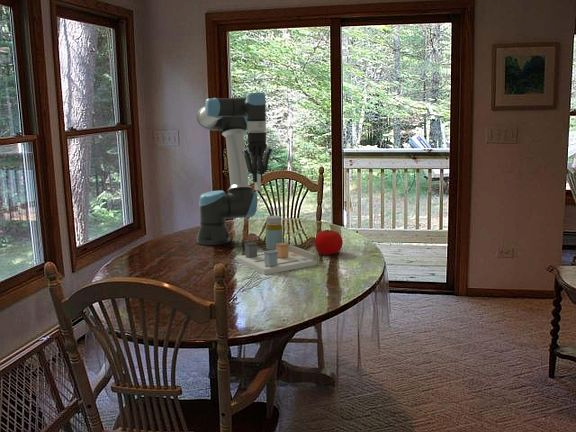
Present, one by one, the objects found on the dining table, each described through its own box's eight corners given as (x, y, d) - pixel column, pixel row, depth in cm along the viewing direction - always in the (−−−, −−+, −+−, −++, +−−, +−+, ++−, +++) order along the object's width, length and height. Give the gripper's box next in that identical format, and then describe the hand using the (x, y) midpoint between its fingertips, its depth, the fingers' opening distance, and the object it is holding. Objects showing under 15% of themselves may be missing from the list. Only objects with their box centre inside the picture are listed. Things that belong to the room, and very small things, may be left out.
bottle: (280, 252, 257) (280, 218, 254) (264, 252, 258) (264, 218, 255) (283, 248, 264) (283, 215, 261) (268, 248, 265) (267, 215, 262)
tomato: (324, 249, 262) (324, 225, 260) (347, 252, 256) (347, 229, 254) (309, 255, 253) (309, 230, 251) (332, 259, 246) (333, 234, 244)
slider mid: (275, 256, 243) (275, 243, 242) (283, 254, 245) (283, 242, 244) (280, 258, 239) (280, 245, 238) (288, 256, 241) (288, 244, 240)
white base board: (236, 261, 244) (235, 250, 243) (286, 252, 257) (286, 242, 256) (264, 274, 225) (264, 263, 224) (316, 265, 238) (316, 254, 237)
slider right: (264, 264, 231) (264, 251, 230) (272, 262, 233) (272, 249, 232) (269, 266, 228) (269, 253, 226) (277, 265, 229) (277, 251, 228)
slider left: (244, 255, 244) (244, 243, 243) (252, 254, 246) (252, 241, 245) (249, 257, 241) (248, 245, 240) (257, 256, 243) (257, 243, 242)
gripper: (246, 132, 234) (248, 192, 238) (275, 131, 241) (276, 189, 245) (237, 132, 240) (239, 190, 245) (266, 130, 247) (266, 187, 251)
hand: (257, 189), depth 245 cm, fingers closed
